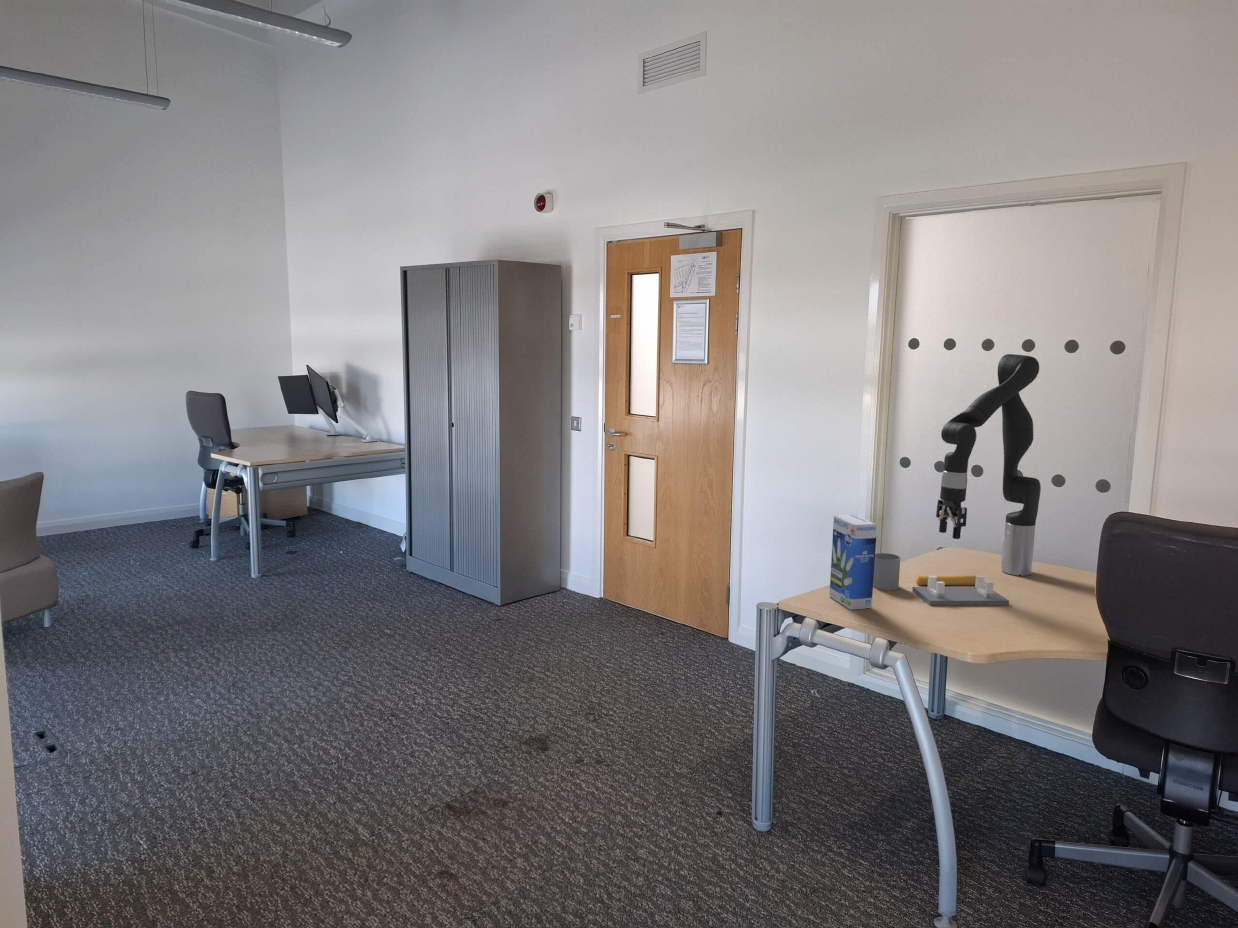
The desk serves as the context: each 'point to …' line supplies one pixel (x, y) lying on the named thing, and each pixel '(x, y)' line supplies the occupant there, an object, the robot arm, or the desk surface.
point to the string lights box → (853, 561)
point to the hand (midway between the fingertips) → (949, 535)
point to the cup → (886, 571)
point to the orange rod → (948, 580)
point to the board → (959, 593)
